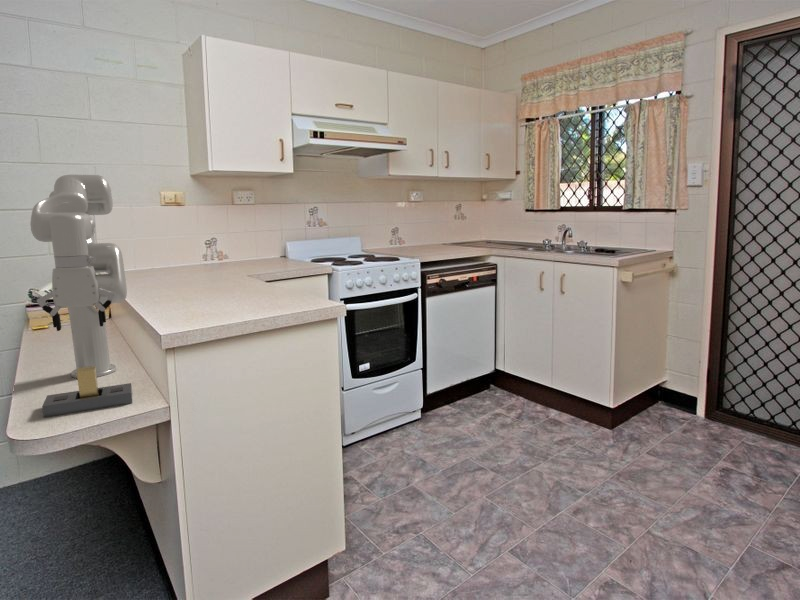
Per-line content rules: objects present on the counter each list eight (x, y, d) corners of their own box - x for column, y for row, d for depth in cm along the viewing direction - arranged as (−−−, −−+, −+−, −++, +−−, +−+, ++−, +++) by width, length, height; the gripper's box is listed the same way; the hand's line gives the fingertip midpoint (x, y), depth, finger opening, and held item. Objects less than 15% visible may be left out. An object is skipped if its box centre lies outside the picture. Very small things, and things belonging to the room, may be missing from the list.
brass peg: (82, 403, 142) (78, 368, 140) (99, 401, 144) (95, 365, 142) (81, 408, 138) (76, 372, 137) (98, 405, 140) (94, 369, 138)
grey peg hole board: (48, 406, 141) (47, 395, 140) (132, 393, 149) (131, 382, 149) (43, 417, 133) (42, 406, 132) (132, 403, 141) (131, 392, 141)
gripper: (111, 259, 141) (118, 321, 145) (34, 263, 134) (43, 328, 137) (110, 261, 135) (117, 326, 138) (29, 266, 127) (39, 334, 130)
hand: (80, 327), depth 138 cm, fingers open, 9 cm apart
